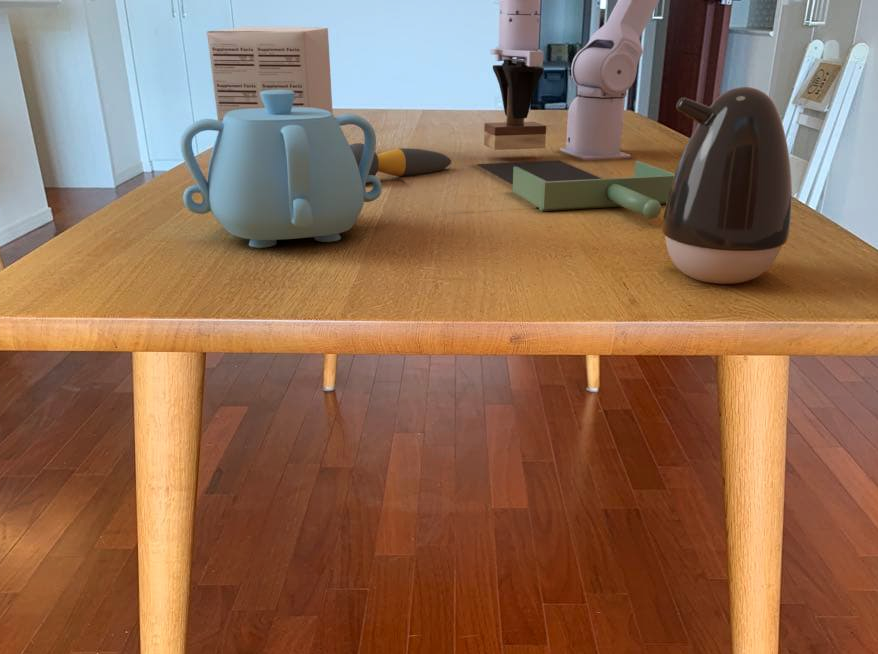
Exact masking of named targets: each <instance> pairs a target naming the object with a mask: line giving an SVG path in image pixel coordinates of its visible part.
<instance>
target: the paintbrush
mask: <svg viewBox="0 0 878 654" xmlns="http://www.w3.org/2000/svg"><path fill="white" fill-rule="evenodd" d="M349 145H350V147H351V150H352V152H353V154H354V156H355V159H356V162H357V165H358V168H359V164H360V161H361V158H362V154H363V150H364V143H359V142H357V143H352V144H349ZM451 164H452V160H451V158H450V156H449V157H448V155H445V154H444V153H441V152H438V151H432V150H427V149H420V148H405V147H404V148H403V147H402V148H395V149H394V148H393V149H391V150H387V151H384V152H381V153H378V154H377V152H375V153H374V157H373V161H372V164H371V167H370V171H369V174H368V175H374V176H376V175H377V173H378V172H379V173H381V174H385V175H389V176H393V177H411V176H419V175H426V174H432V173H437V172H440V171H442V170H444V169H447V168H448V167H449V166H450V165H451Z"/></svg>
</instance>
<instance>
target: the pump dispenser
mask: <svg viewBox="0 0 878 654" xmlns="http://www.w3.org/2000/svg"><path fill="white" fill-rule="evenodd" d="M676 110H677V111H678V112H679V113H682V114H683V115H685V116H686V117H688V118H690V119H692V120H694V122H697V125H696V126H695V128H694V130H693V132H692V133H691V136H690V138H689V140H688V141H687V143H686V146H685V148H684V150H683V153H682V155H681V157H680V159H679V162H678V165H677V167H676V171H675V175H674V178H673V182H672V185H671V188H670V192H669V196H668V199H667V203H666V204H665V208H664V212H663V216H662V217H663V218H662V225H661V231H662V234H663V235H664V236H665V237H664V239H665V245H666V250H667V254H668V255H669V258H670V259H671V261H672V263H673V264H674V265H675V267H676V268H677V269H678V270H679V271H680V272H682V273H683V274H685V275H686V276H688V277H690V278H691V279H694V280H697V281H700V282H704V283H709V284H718V285H736V284H741V283H746V282H748V281H749V282H750V281H751V280H754V279H756V278H757V277H759V276H761V275H762V274H764V273H765V272H766V271H767V270H768V269H769V268H770V267H771V266H772V265H773V264H774V262H775V261H776V259H777V258H778V256H779V254H780V252H781V249H782V247H783V245H785V244H786V243H787V242H788V239H789V235H790V229H791V222H792V218H791V217H792V199H793V197H792V196H793V194H792V193H793V187H792V185H793V183H792V169H791V160H790V153H789V147H788V146H789V145H788V141H787V137H786V132H785V129H784V124H783V121H782V118H781V115H780V113H779V111H778V108H777V106H776V104H775V102H774V101H773V99H772V98H771V97H770V96H769V95H768V94H766V93H765V92H763V91H762V90H760V89H758V88H755V87H750V86H740V87H733V88H731V89H729V90H727V91H725V92H723V93H721V94H720V95H719V96H718V97H717V98H715V99H714V101H712V103H711V104H710V106H708V105H706V104H702V103H700V102H697V101H695V100H692V99H689V98H687V97H683V96H682V97H681V98H679V99H678V101H677V103H676Z"/></svg>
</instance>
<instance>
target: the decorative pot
mask: <svg viewBox="0 0 878 654" xmlns="http://www.w3.org/2000/svg"><path fill="white" fill-rule="evenodd" d="M260 96H261V99H262V101H263V104H264V106H265V108H253V109H239V110H233V111H229V112H227V113H226V115H225V116H224V119H223V121H222V122H220V121H218V119H213V118H202V119H200V120H196V121H194V122H193V123H191V124H189V126H187V127H186V128H185V129H184V131H183V133H182V134H181V138H180V152H181V154H182V158H183V161H184V163H185V164H186V167H187V169H188V171H189V173H190V175H191V176H192V179H193V181H194V182H195V184H196V185H190V186H188V187H186V189H185V190H184V192H183V196H182V201H183V203H184V207H185V208H186V209H187V210H188V211H189V212H191V213H194V214H198V215H206V214H208V213H210V212H211V214H212V215H213V216H214V217H215V219H216V221H217V222H218V223H219V224H220V226H222V227H223V229H224V230H225V231H226V232H228V233H229V234H231V235H233V236H236V237H238V238H241V239H246V240H249V243H248V246H249V247H251V248H259V249H261V248H269V247H273V246H276V245H277V240H278V241H279V240H292V239H293V240H295V239H305V238H313V239H314V240H315V241H317V242H323V243H330V242H331V243H332V242H338V241H339V240H340V241H341V239H342V237H341V235H340V234H341V233H345V232H347V231H349V230H350V229H352V228H353V226H354V225H355V223H356V222H357V220H358V219H359V217H360V215H361V213H362V210H363V208H364V204H365V203H371V202H373V201H376V200H377V199H378V198H379V197H380V196H381V194H382V191H383V189H382V188H383V187H382V182H381V180H380V178H379V177H378V176H376V175H375V176H374V175H368V174H369V171H370V167H371V164H372V161H373V157H374V153H376V146H377V136H376V131H375V129H374V127H373V126H372V124H371V123H370V122H369V121H368V120H366V119H365V118H364V117H362V116H360V115H358V114H354V113H343V114H339V115H336V116H335V115H334V113H333V114H332V113H331V112H330V111H327V110H323V109H318V108H308V107H292V105H293V101H294V97H295V92H293V91H291V90H266V91H262V92H260ZM348 125H351V126H352V125H353V126H357V127H359V128H360V129H361V130H362V132H363V137H364V143H363V144H364V150H363V154H362V158H361V161H360V164H359V168H358V165H357V162H356V159H355V156H354V154H353V152H352V150H351V147H350V145H351V144H350V143H349V141H348V139H347V137H346V135H345V132H344V131H343V129H342V127H343V126H348ZM205 131H216V132H217V134H216V138H215V140H214V144H213V148H212V150H211V155H210V157H209V158H210V159H209V163H208V170H207V179H206V177H205V175H204V173H203V171H202V169H201V168H200V166H199V163H198V162H197V159H196V156H195V153H194V150H193V139H194V138H195V136H196V135H198V134H199V133H201V132H205ZM367 183H372V185H373V186H372V189H371V190H370V191H367V190H366V184H367ZM194 194H201V197H202V201H201V203H197V202H195V201H194V200H193V195H194Z"/></svg>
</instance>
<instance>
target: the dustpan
mask: <svg viewBox="0 0 878 654" xmlns="http://www.w3.org/2000/svg"><path fill="white" fill-rule="evenodd" d="M634 163H635V164H634V173H633V176H631V177H630V176H629V177H613V178H611V177H610V178H601V179H588V180H569V181H549V182H547V181H545V180H543V179H541V178H539V177H537V176H535V175H533V174H531V173H529V172H527V171H525V170H523V169H521V168H519V167H517V166H516V167H513V185H512V193H513V194H515V195H517V196H519V197H521V198H522V199H524V200H525V201H527V202H529V203H531V204H533V206H536V207H535V208H536V209H537V210H539V211H541V212H552V211H554V212H555V211H568V210H569V211H571V210H585V209H586V210H587V209H601V208H602V209H603V208H604V209H605V208H618V207H619V208H620V207H622V208H625V209H627V210H629V211H631V212H633V213H635V214H638V215H640V216H642V217H644V218H646V219H649V220H653V219H656V218H658V217H659V216H660V214H661V212H662V205H666V203H667V199H668V196H669V192H670V188H671V185H672V182H673V178H674V175H675V173H676V172H675V173H674V172H672V171H668V170H666V169H663V168H661V167H657V166H655V165H652V164H649V163H646V162H643V161H641V160H635V162H634Z"/></svg>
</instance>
